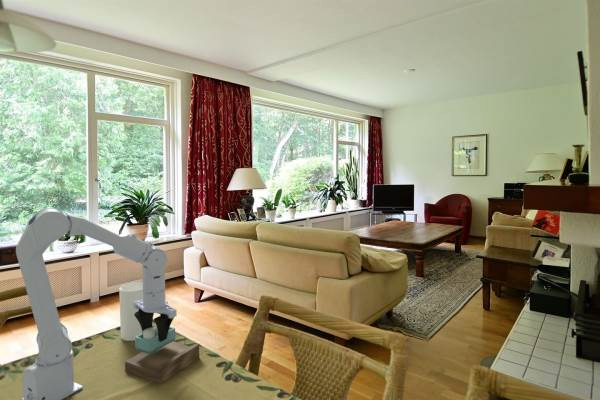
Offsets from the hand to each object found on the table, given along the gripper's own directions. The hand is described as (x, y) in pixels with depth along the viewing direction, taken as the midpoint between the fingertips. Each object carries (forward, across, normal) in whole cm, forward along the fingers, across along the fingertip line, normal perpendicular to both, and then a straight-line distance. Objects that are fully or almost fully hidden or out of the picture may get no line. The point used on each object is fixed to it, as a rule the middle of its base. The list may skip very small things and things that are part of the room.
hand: (155, 337), depth 99 cm
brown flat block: (+7, -3, 0) cm, 7 cm away
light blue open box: (+2, 0, 0) cm, 2 cm away
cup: (+7, +18, -8) cm, 21 cm away
